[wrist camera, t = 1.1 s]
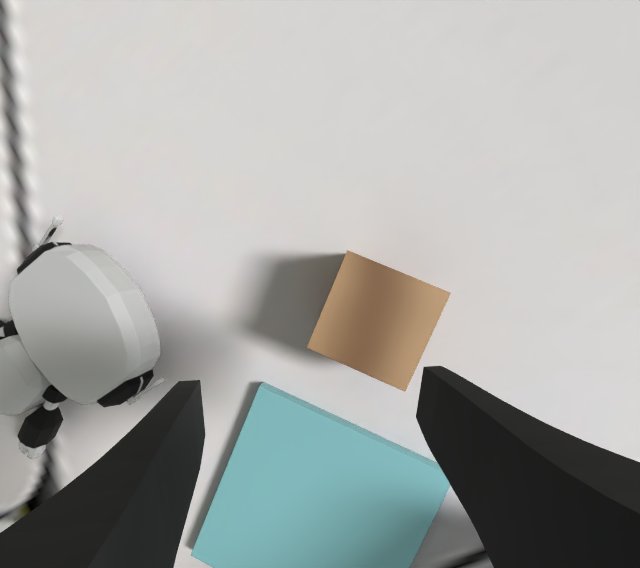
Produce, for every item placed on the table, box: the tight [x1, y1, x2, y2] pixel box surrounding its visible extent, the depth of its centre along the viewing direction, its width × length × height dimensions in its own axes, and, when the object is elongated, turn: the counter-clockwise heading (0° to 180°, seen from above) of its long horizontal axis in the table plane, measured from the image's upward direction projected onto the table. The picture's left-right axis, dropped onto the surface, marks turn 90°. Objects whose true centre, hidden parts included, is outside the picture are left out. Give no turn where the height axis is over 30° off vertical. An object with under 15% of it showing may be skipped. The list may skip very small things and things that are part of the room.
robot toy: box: [0, 215, 165, 459], centre depth 24 cm, size 12×4×15 cm
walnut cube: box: [307, 250, 451, 391], centre depth 20 cm, size 6×6×6 cm
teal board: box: [191, 382, 450, 568], centre depth 23 cm, size 14×14×1 cm
